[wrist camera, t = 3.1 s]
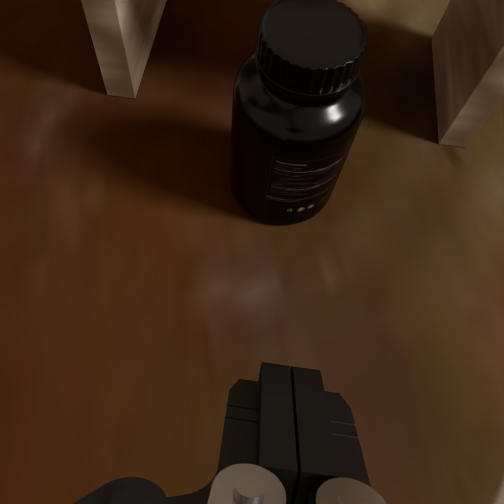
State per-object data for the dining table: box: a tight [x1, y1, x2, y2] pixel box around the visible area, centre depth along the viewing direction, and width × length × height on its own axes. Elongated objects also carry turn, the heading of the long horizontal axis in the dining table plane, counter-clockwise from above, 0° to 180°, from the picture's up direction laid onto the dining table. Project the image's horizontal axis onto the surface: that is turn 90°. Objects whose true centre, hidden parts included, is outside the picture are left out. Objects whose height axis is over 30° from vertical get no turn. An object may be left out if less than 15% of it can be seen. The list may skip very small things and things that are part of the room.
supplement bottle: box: [230, 0, 368, 225], centre depth 25 cm, size 7×7×12 cm
